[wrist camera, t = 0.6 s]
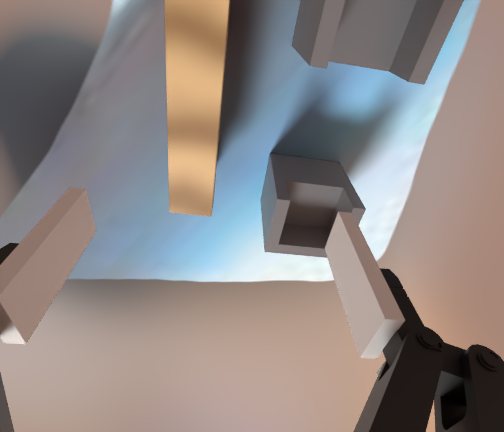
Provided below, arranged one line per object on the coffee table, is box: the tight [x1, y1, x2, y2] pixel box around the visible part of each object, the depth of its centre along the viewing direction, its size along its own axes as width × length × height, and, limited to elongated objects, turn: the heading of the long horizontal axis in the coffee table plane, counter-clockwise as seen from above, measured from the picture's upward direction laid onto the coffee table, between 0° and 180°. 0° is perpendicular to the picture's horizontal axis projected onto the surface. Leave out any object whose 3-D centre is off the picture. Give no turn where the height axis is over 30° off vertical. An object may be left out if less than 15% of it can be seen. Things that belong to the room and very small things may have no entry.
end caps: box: [261, 0, 464, 258], centre depth 28 cm, size 24×8×10 cm, turn 172°
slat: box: [165, 0, 231, 216], centre depth 24 cm, size 18×4×2 cm, turn 171°
